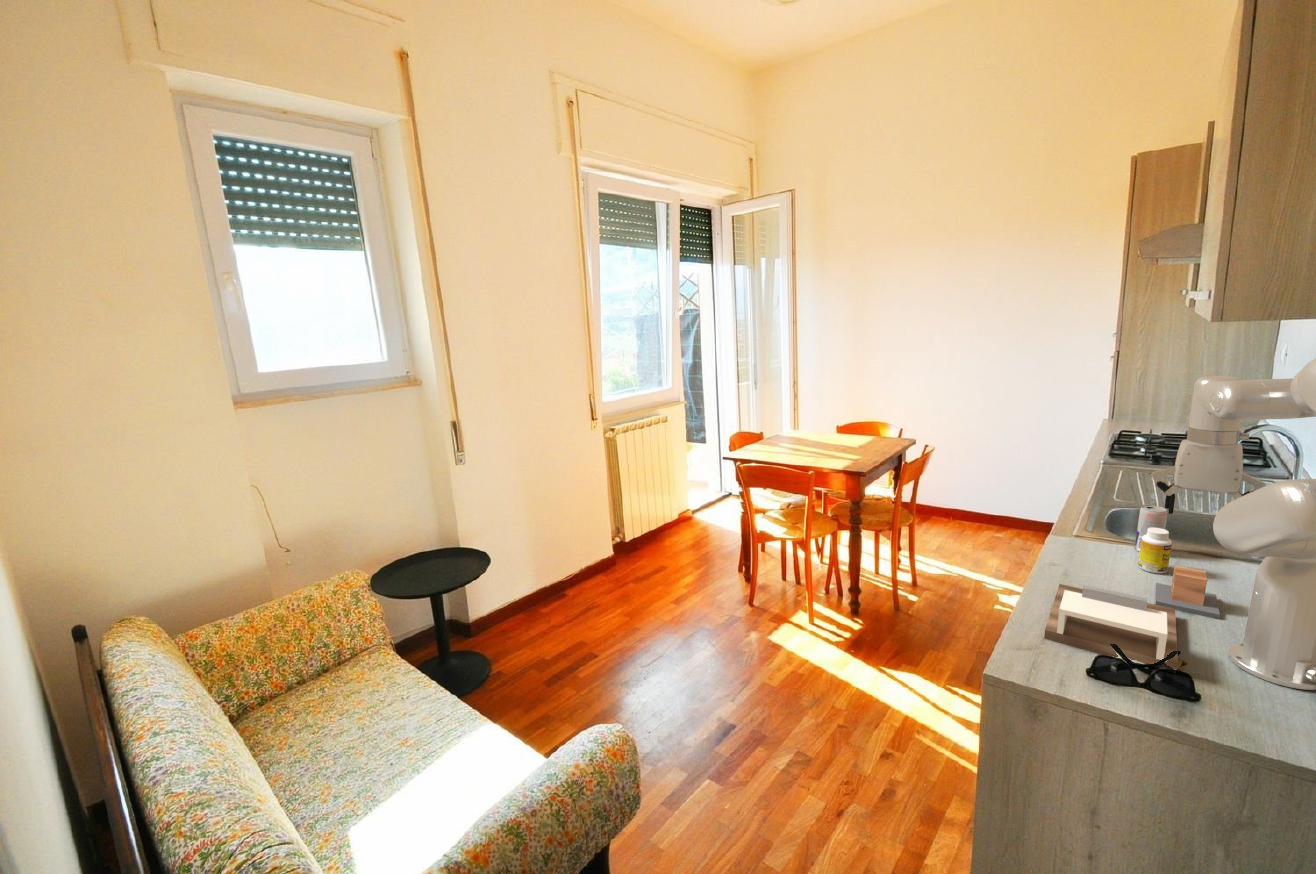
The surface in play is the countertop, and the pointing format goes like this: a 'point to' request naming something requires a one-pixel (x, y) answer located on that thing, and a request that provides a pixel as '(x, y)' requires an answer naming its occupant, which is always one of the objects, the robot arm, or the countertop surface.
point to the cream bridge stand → (1115, 613)
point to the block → (1189, 585)
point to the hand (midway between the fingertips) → (1200, 516)
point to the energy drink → (1149, 521)
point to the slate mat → (1207, 609)
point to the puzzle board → (1110, 634)
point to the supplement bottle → (1155, 551)
